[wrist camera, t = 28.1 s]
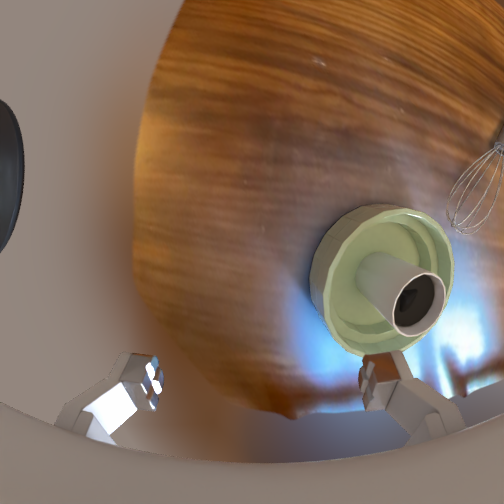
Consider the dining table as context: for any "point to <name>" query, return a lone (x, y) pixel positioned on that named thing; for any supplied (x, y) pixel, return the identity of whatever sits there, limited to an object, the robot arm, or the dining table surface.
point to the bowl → (349, 258)
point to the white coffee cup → (401, 292)
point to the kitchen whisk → (503, 149)
